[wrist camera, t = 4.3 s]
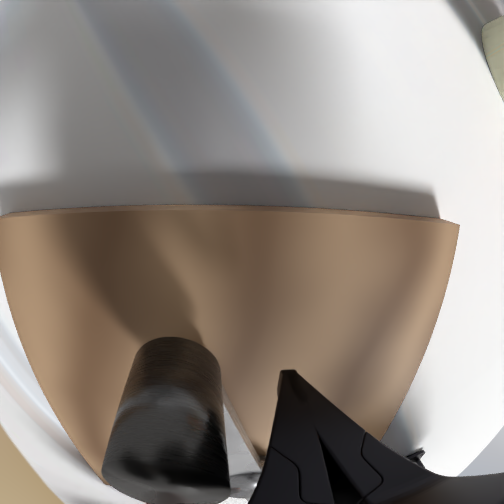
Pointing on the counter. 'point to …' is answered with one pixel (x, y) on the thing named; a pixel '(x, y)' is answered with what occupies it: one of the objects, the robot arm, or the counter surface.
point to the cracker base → (225, 304)
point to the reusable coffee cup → (495, 50)
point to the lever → (179, 431)
